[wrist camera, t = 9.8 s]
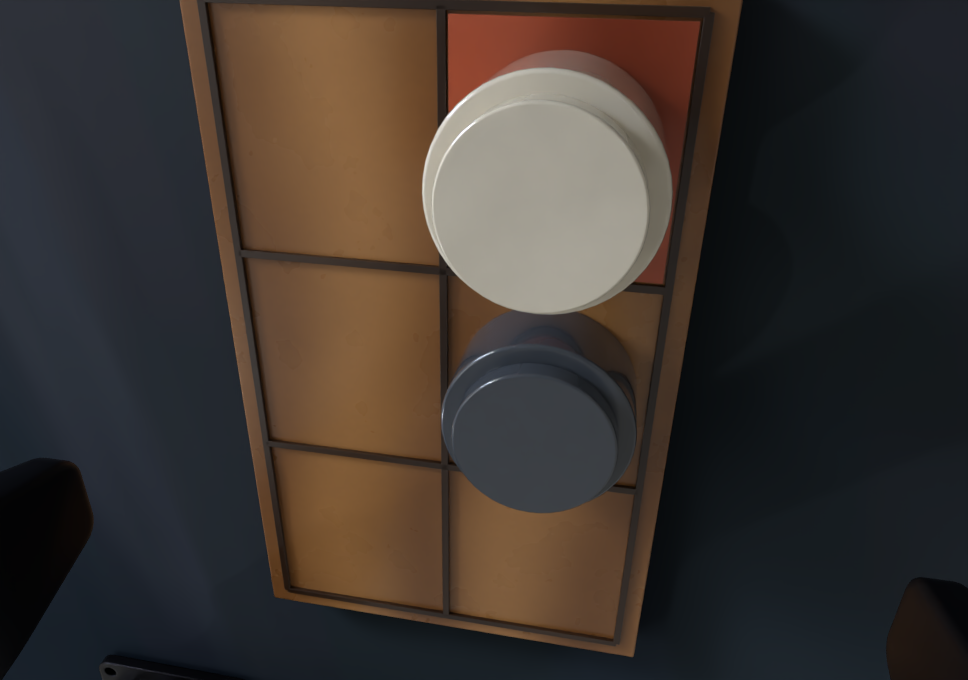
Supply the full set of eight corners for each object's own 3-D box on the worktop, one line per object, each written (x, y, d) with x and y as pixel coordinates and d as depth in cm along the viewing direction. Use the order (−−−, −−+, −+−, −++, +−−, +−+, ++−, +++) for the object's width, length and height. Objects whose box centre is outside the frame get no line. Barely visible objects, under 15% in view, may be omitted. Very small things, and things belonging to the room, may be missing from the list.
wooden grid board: (286, 576, 25) (272, 600, 24) (197, -34, 17) (169, -35, 16) (633, 632, 23) (633, 661, 22) (739, -22, 15) (747, -22, 14)
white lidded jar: (457, 251, 17) (412, 321, 14) (457, 45, 15) (404, 68, 12) (652, 267, 17) (656, 346, 13) (680, 53, 15) (694, 80, 11)
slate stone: (459, 447, 20) (435, 513, 18) (459, 296, 18) (432, 347, 16) (626, 468, 19) (624, 540, 17) (647, 314, 17) (649, 370, 15)
